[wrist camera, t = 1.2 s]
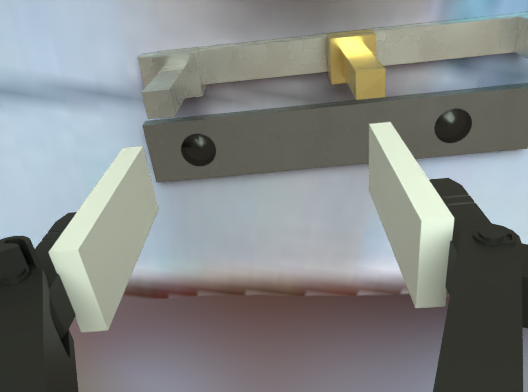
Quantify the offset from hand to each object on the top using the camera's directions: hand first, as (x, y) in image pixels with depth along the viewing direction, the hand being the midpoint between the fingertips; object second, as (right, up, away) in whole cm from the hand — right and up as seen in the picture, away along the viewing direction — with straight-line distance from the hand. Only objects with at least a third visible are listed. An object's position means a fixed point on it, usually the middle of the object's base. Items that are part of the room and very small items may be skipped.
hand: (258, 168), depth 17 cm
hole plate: (+6, +4, +20) cm, 21 cm away
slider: (+6, +9, +15) cm, 19 cm away
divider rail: (+5, +10, +17) cm, 20 cm away
